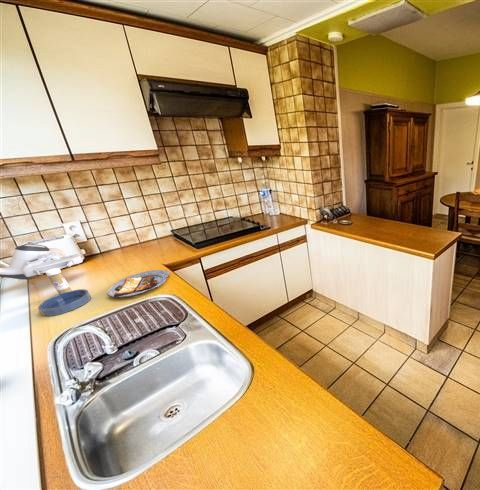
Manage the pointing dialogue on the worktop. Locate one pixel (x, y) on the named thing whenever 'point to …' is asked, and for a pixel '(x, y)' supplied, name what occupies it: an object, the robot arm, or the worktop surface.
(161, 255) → the worktop surface
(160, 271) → the food plate
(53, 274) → the sprinkles bottle
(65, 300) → the bowl
